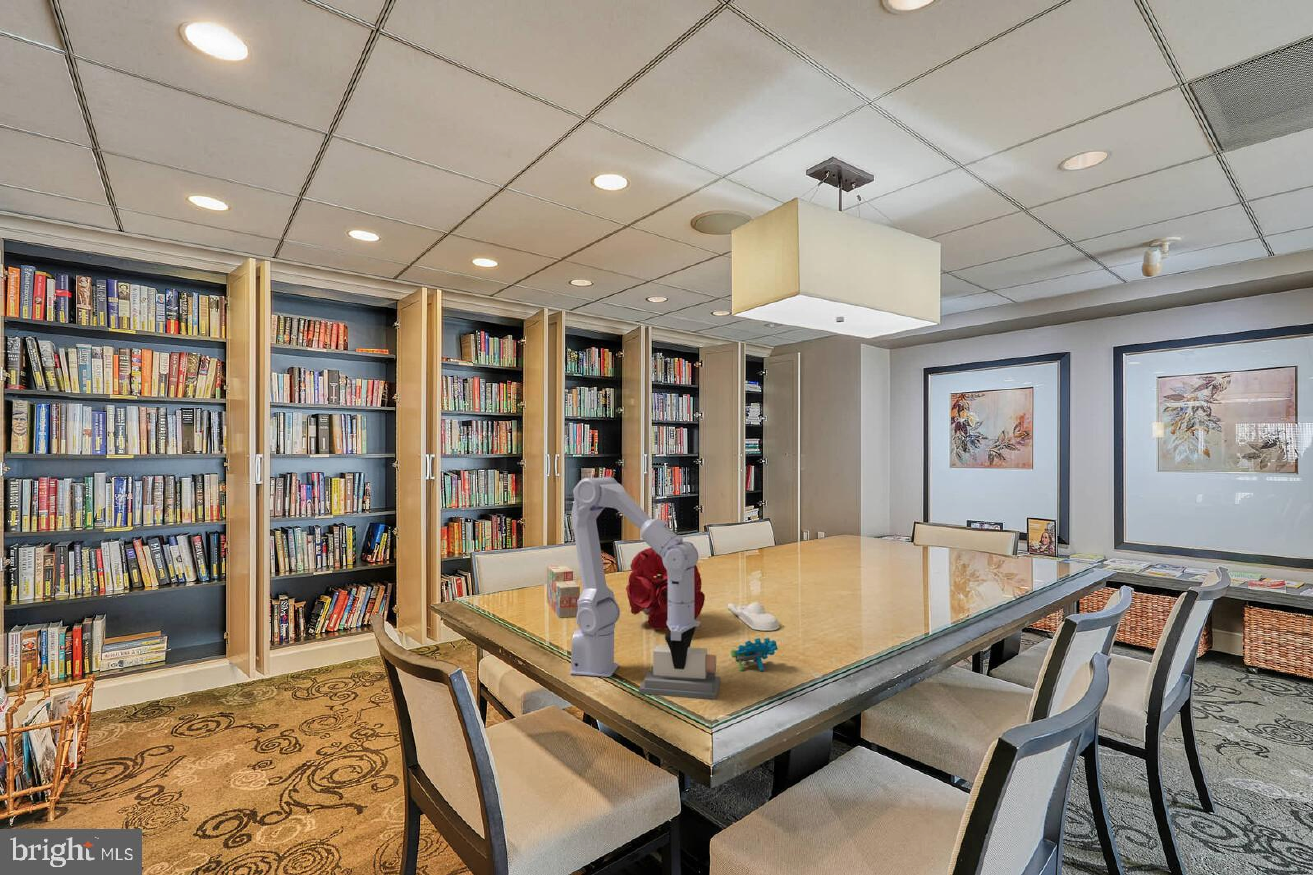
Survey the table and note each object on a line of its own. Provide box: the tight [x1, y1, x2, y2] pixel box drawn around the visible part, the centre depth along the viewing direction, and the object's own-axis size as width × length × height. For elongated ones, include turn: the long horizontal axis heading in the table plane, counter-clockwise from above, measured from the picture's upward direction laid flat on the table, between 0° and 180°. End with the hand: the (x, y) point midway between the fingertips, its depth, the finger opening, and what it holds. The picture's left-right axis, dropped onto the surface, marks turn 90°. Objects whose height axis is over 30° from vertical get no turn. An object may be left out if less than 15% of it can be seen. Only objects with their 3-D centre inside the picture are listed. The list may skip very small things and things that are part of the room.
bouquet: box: [625, 547, 706, 630], centre depth 174 cm, size 22×24×30 cm
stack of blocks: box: [546, 564, 581, 619], centre depth 190 cm, size 21×6×12 cm, turn 21°
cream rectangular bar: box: [652, 644, 717, 679], centre depth 126 cm, size 13×4×5 cm, turn 79°
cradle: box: [638, 665, 721, 700], centre depth 126 cm, size 16×10×2 cm, turn 79°
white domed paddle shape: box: [726, 600, 780, 632], centre depth 176 cm, size 10×20×6 cm, turn 14°
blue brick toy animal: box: [730, 637, 779, 672], centre depth 138 cm, size 11×6×10 cm
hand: (681, 664), depth 126 cm, fingers closed on cream rectangular bar, 4 cm apart
